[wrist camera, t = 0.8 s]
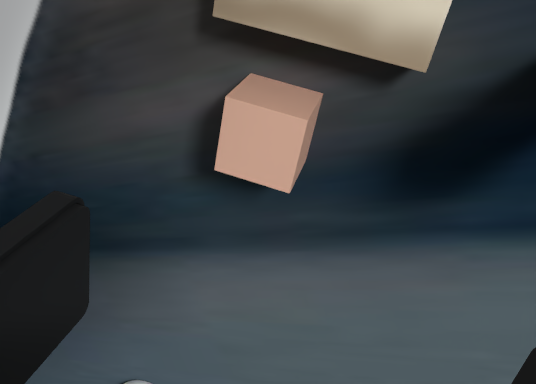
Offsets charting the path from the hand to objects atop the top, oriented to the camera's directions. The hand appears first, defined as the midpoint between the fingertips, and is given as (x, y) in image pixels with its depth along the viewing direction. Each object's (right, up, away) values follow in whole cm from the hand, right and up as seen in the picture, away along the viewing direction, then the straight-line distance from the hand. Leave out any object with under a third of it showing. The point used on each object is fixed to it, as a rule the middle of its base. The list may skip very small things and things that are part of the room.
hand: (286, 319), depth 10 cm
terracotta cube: (+1, +9, +31) cm, 32 cm away
